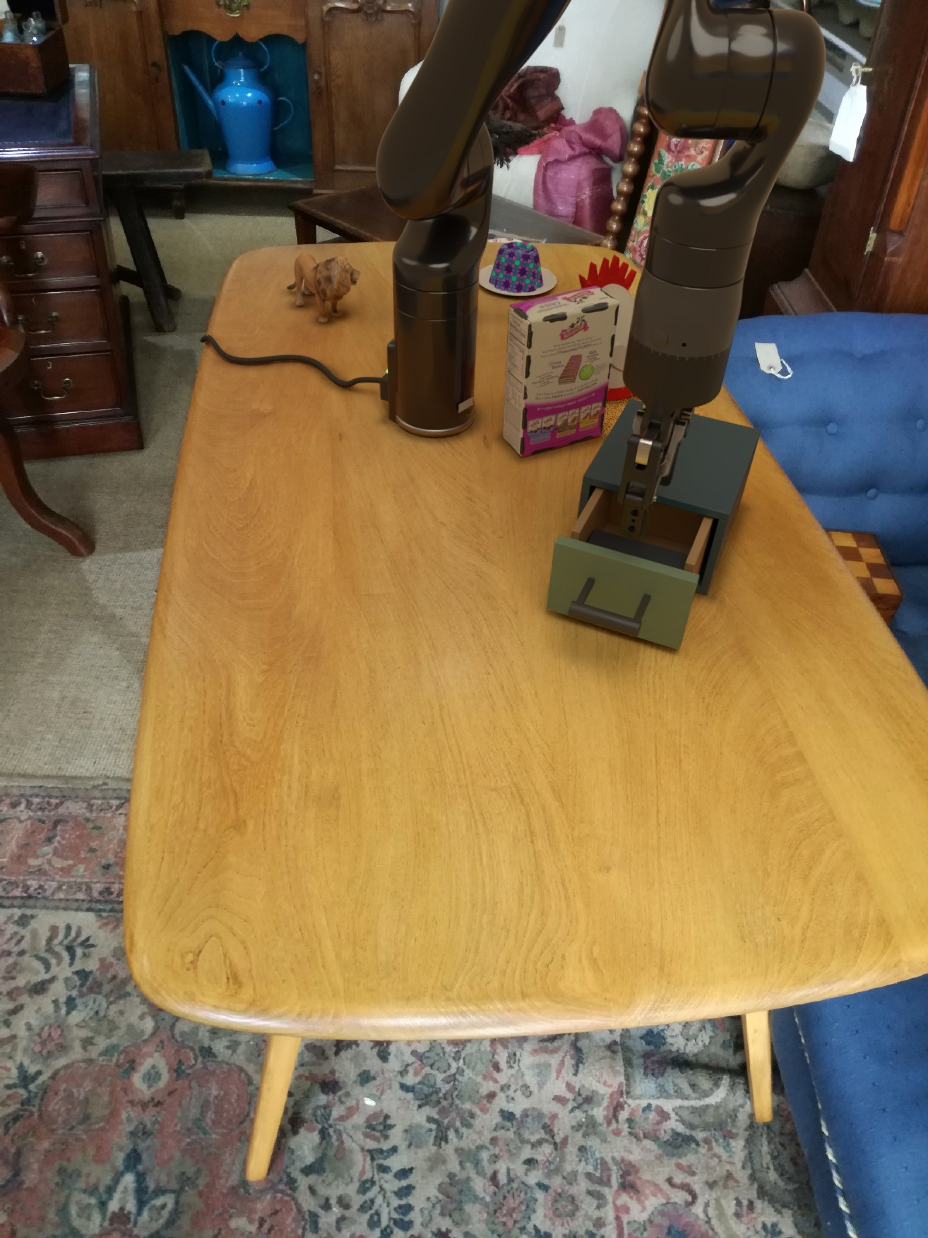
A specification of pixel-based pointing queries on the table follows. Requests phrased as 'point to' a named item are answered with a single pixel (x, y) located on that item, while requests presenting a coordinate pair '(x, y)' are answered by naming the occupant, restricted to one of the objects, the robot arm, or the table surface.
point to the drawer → (629, 572)
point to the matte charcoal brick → (638, 549)
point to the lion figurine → (323, 281)
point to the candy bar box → (558, 369)
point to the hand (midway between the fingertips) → (645, 507)
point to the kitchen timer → (618, 288)
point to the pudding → (517, 271)
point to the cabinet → (687, 474)
